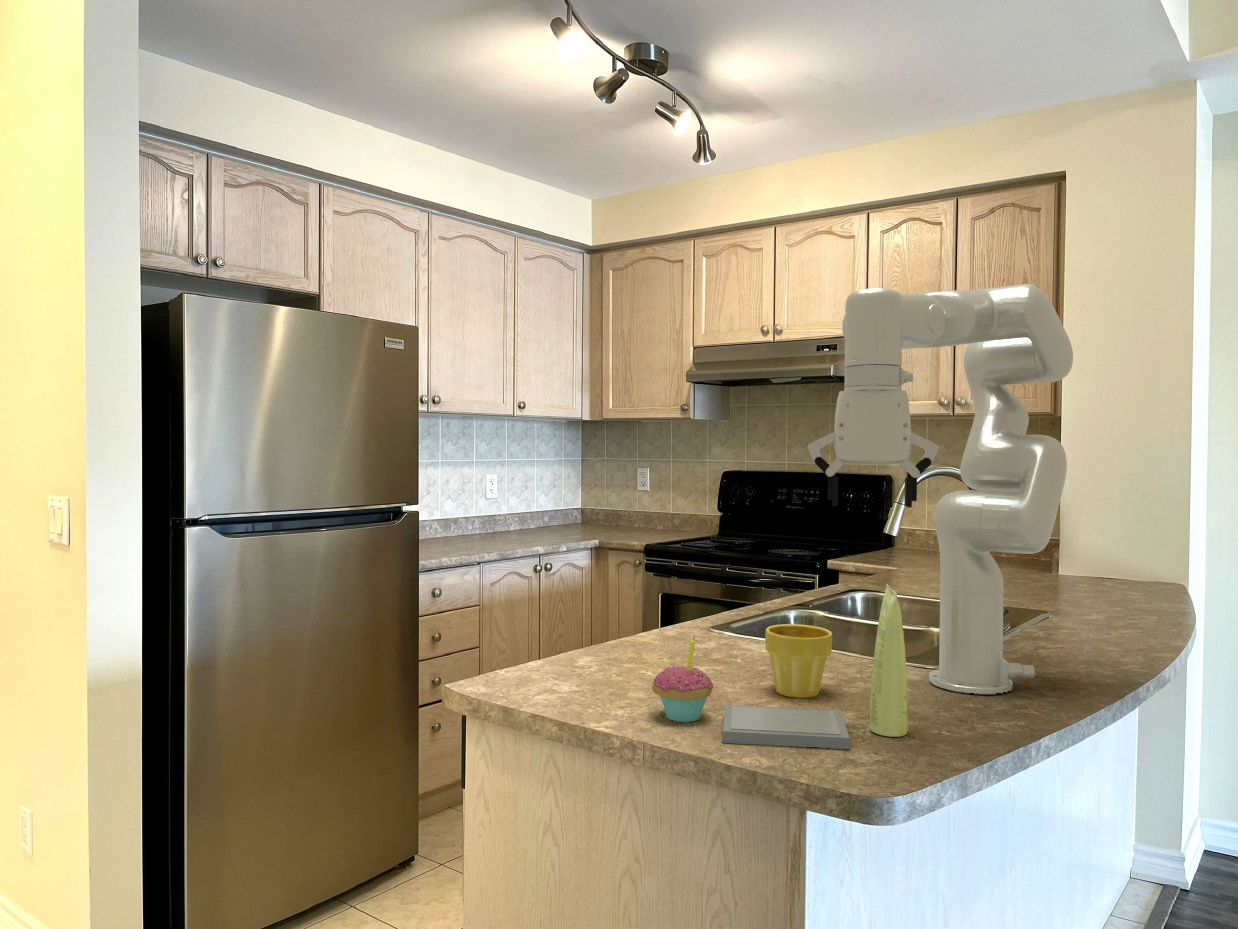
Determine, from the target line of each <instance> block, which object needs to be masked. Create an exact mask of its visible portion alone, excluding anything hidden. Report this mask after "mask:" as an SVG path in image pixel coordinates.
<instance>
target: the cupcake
mask: <svg viewBox="0 0 1238 929" xmlns="http://www.w3.org/2000/svg"><path fill="white" fill-rule="evenodd" d="M695 637H696V635H693V637H692V639H691V640H690V641H689V642H690V643H689V650H688V657H687V664H686V666H684V665H683V666H679V665H677V666H672V667H671V666H670V667H669V666H668V667H666V668H665V669H663V670H662V671H660V672H658V674H656V675H655V677H654V679H653V681H652V684H651V690H652V692H653V693H654V694H655V695H657V696H659V699H660V701H661V702H662V705H663V709H664V712H665V716H666V718H667V719H668V720H670V721H672V720H673V722H677V723H692V722H695V721H698V720H700V718H701V714H702V711H703V708H704V706H705V703H706V700H707V699H708V697H710V696H711V694H712V691H713V689H714V683H713V682H712V680H711V678H710V676H708V675H707V674H706V673H705V672H703V671H702V670H701V669H698V668H697V667H693V660H694V653H695V652H694V651H695V645H696V641H695Z"/></svg>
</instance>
